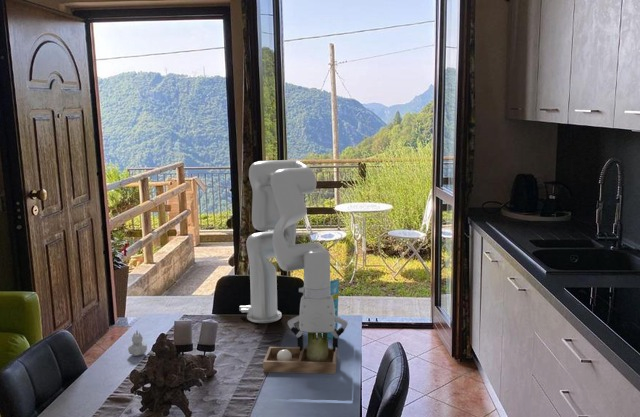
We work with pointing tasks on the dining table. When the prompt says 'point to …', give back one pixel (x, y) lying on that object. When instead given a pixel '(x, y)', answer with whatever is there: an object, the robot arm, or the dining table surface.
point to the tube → (334, 292)
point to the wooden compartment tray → (298, 362)
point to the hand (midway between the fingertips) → (317, 349)
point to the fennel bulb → (317, 347)
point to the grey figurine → (137, 345)
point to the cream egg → (284, 355)
